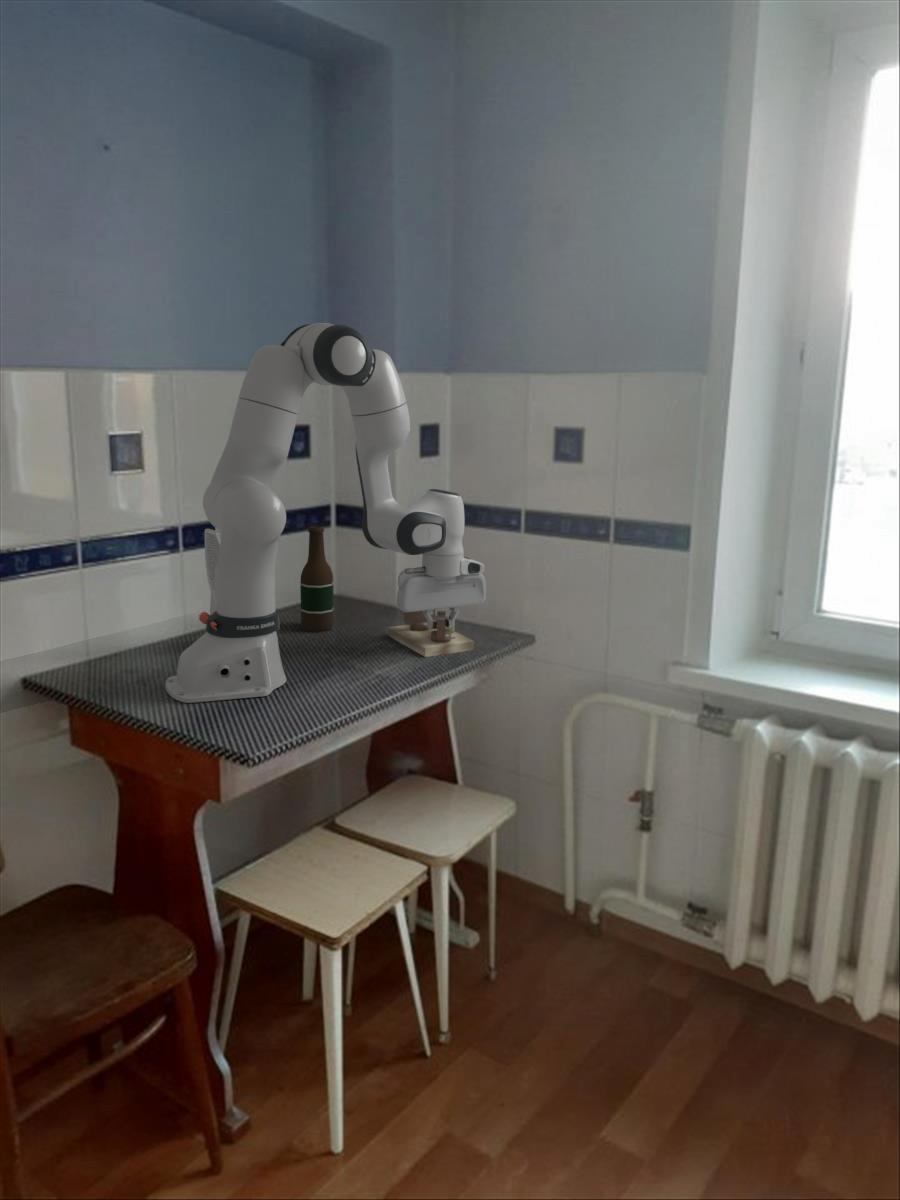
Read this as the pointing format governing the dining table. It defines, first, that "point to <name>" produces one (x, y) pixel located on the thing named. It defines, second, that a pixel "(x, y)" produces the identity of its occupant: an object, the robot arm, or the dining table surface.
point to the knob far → (417, 620)
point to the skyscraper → (212, 561)
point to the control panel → (430, 641)
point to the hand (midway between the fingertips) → (441, 627)
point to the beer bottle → (317, 586)
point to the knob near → (441, 629)
